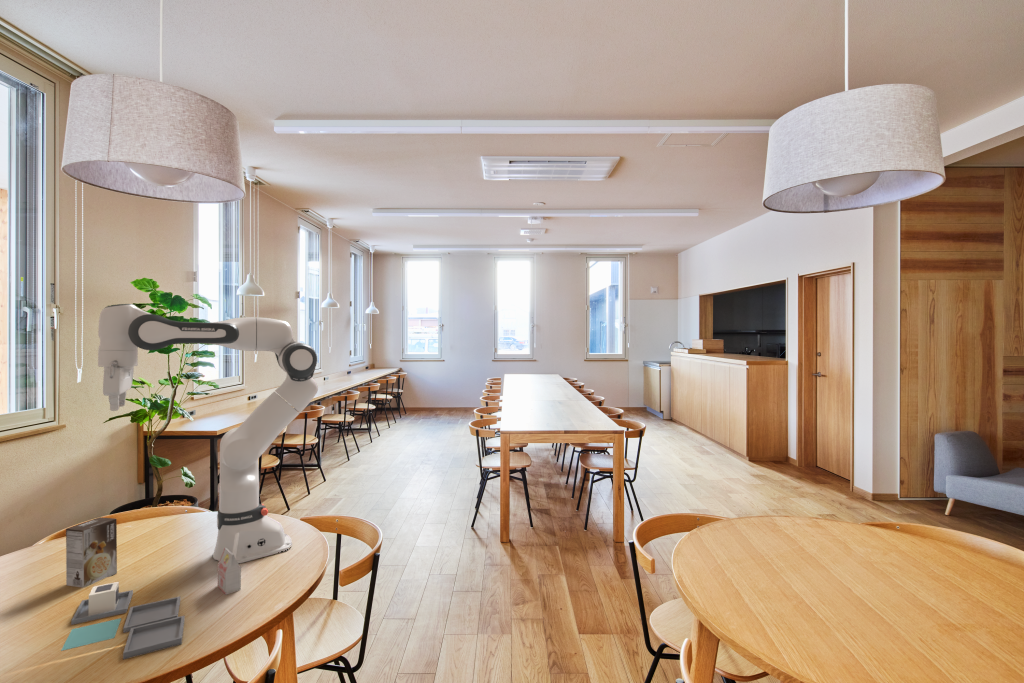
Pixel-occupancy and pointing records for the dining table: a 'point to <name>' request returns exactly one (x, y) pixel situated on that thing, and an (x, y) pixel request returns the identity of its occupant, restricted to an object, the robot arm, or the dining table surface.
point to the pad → (91, 634)
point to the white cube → (103, 598)
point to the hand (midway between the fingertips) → (117, 408)
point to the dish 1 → (121, 608)
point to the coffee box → (91, 551)
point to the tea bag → (229, 573)
